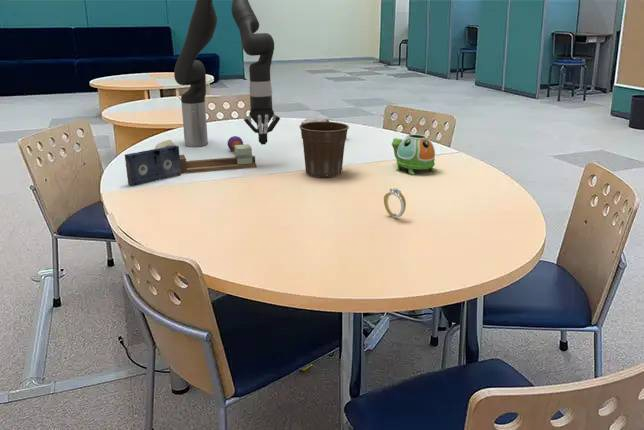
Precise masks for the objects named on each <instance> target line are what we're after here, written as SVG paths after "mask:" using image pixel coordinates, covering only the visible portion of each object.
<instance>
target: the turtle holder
mask: <svg viewBox="0 0 644 430" xmlns="http://www.w3.org/2000/svg"><path fill="white" fill-rule="evenodd" d="M391 146H392V148H393V152H394V158H395V159H396V164H397V166H396V171H398V170H399V171H401V170H402V168H404V169H407V171H408V174H409V175H411V176H412V175H416V173H415V170H428V171H429V172H430V171H431V172H430V173H435V172H436V171H435V169H434V168H433V167H434V166H435V164H436V163H435V158H436V157H435V156H436V149H435V146H434V144H433V142H432V141H431V139H429V138H428V136H426V135H423V134H419V133H418V134H417V133H413V134H407V135H406V136H405V137H404V138H403V139H402V138H397V137H396V138H393V140H392V142H391ZM400 169H401V170H400Z"/></svg>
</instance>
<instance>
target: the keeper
mask: <svg viewBox="0 0 644 430" xmlns="http://www.w3.org/2000/svg"><path fill="white" fill-rule="evenodd" d="M234 148H235V152H234V157H237V164H238V165H239V164H251V163H252V156H253V148H252V146H251V145H250V144H247V143H246V144H243V145H234Z"/></svg>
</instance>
